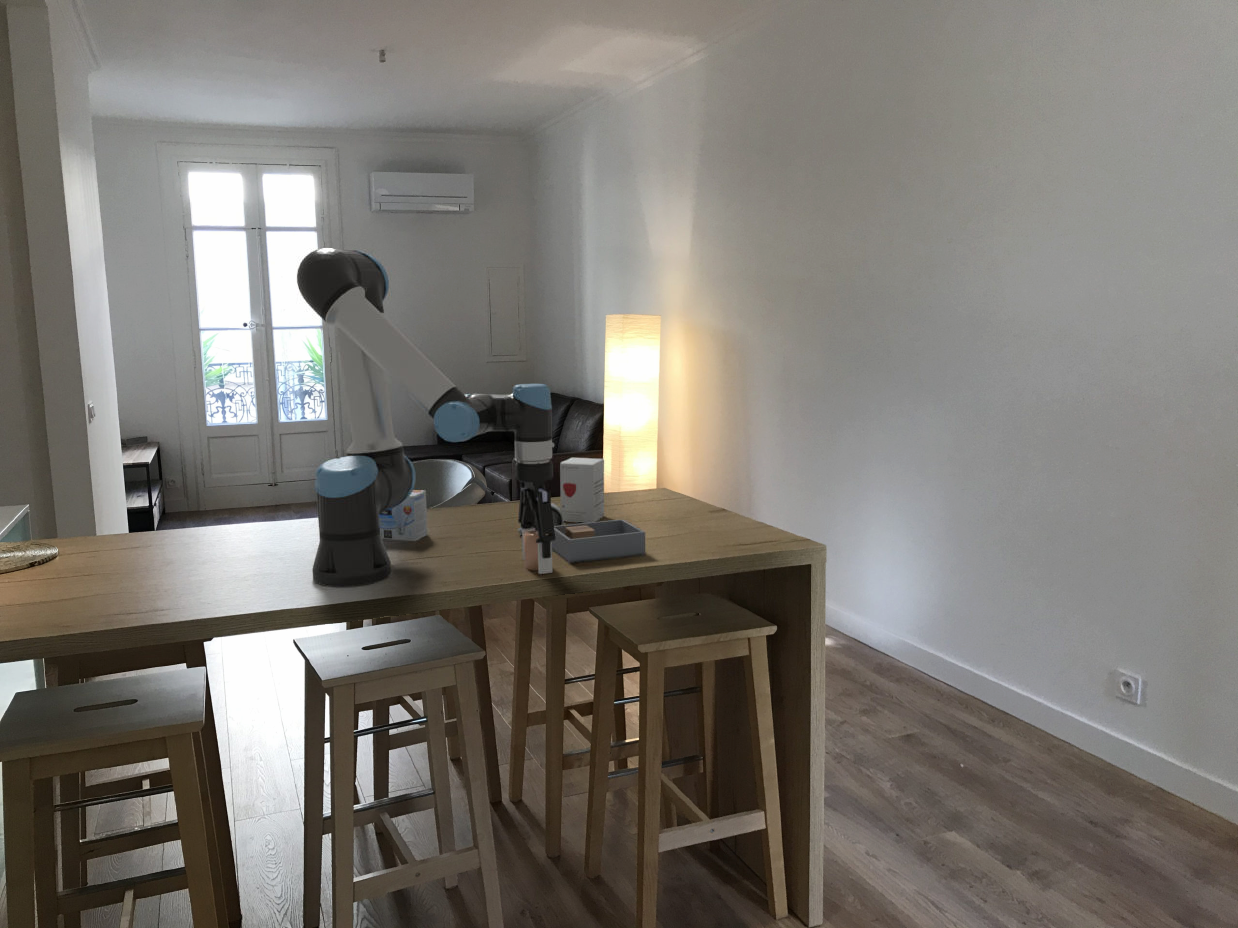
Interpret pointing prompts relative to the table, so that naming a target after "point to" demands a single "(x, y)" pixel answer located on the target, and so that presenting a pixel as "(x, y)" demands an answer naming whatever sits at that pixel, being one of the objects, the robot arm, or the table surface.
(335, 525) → the robot arm
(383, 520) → the light bulb box
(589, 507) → the supplement box
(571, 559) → the tote
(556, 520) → the ceramic mug
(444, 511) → the table surface
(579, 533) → the walnut cube
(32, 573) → the table surface
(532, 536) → the glossy tan capsule
